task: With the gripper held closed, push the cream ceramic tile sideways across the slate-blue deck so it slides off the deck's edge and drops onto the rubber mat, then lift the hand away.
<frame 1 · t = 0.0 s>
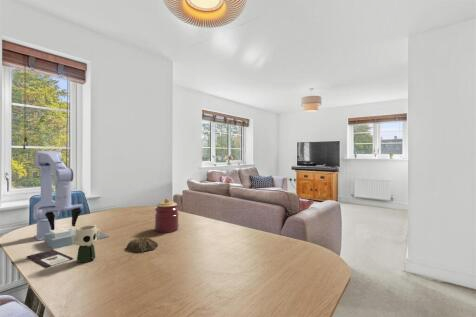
hand: (63, 227, 108), 10 cm above the table, tool pointing down, fingers open, 7 cm apart
canister: (166, 229, 141), on the table
mossy rock: (143, 248, 113), on the table
tile: (60, 234, 118), point 4 cm above the table, touching deck
mat: (90, 236, 128), on the table
character mug: (86, 260, 99), on the table
chocolate bar: (49, 260, 101), on the table
deck: (62, 242, 119), on the table
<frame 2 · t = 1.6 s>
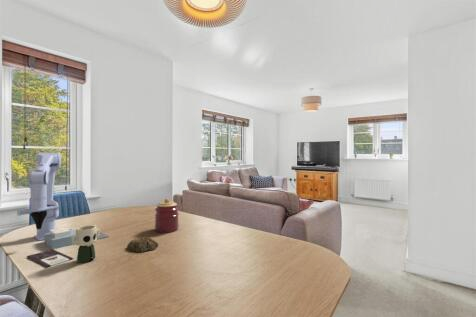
hand: (38, 228, 112), 9 cm above the table, tool pointing down, fingers closed
nothing on the table moved.
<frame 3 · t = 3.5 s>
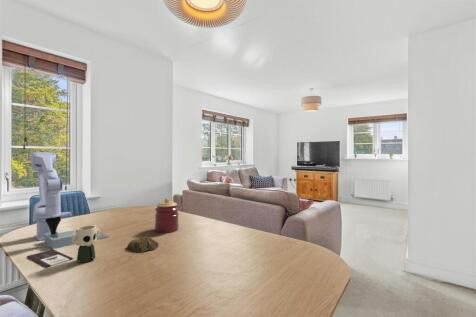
hand: (53, 234, 116), 5 cm above the table, tool pointing down, fingers closed
tile: (63, 233, 119), point 4 cm above the table
everything else where it was.
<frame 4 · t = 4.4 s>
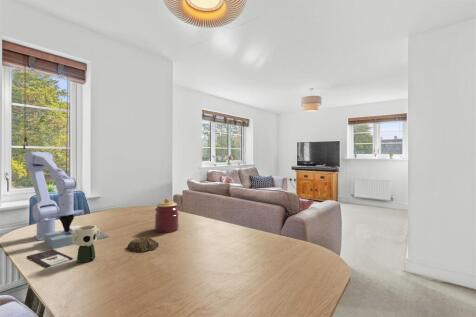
hand: (66, 231, 120), 5 cm above the table, tool pointing down, fingers closed
tile: (75, 231, 123), point 4 cm above the table, tilted 8°, touching gripper
everything else where it was.
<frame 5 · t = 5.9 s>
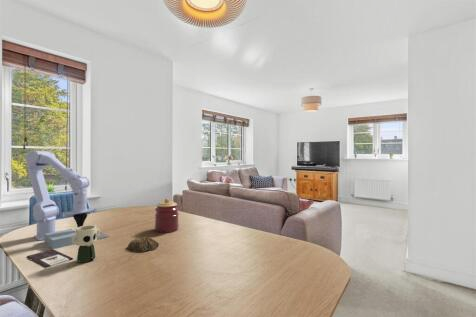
hand: (80, 228, 125), 5 cm above the table, tool pointing down, fingers closed
tile: (89, 232, 128), point 2 cm above the table, tilted 180°, touching mat
everything else where it was.
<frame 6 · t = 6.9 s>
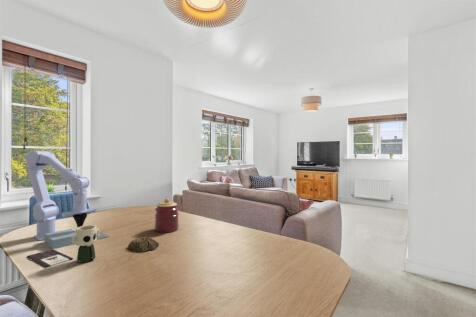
hand: (79, 228, 125), 5 cm above the table, tool pointing down, fingers closed
nothing on the table moved.
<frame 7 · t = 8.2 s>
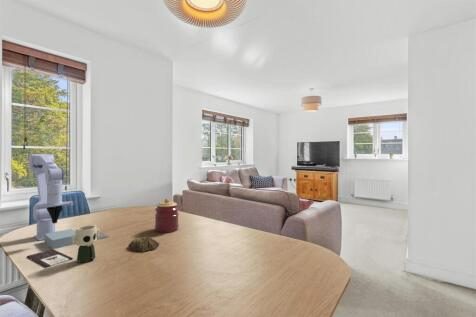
hand: (54, 222, 117), 10 cm above the table, tool pointing down, fingers closed
nothing on the table moved.
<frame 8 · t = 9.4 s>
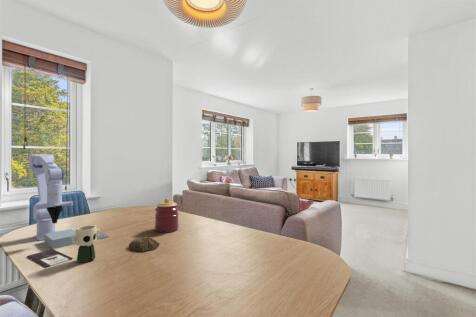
hand: (54, 222, 117), 10 cm above the table, tool pointing down, fingers closed
nothing on the table moved.
at the end: tile inside the target area (0.3 cm from its centre), point 2.3 cm above the table; tile point 2.3 cm above the table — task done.
